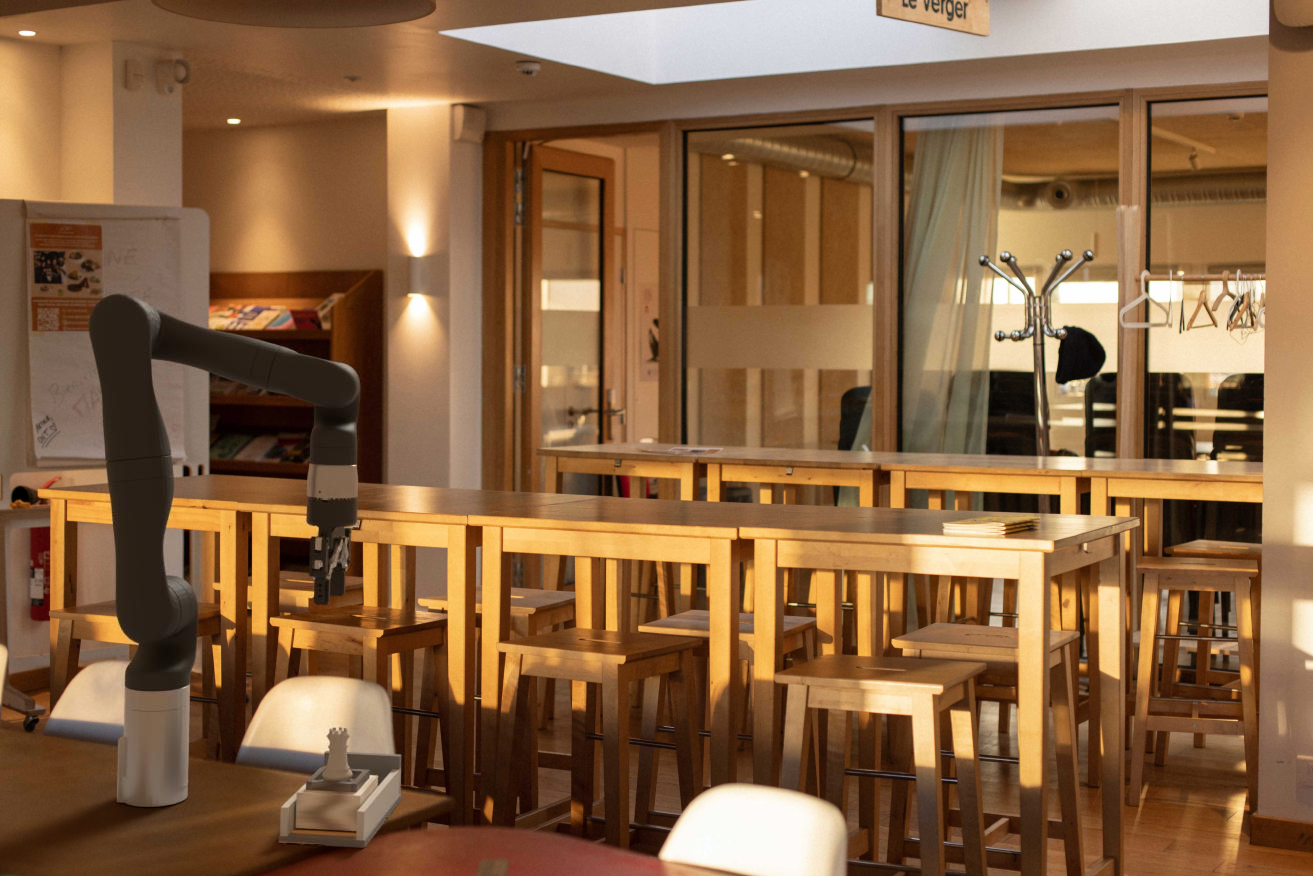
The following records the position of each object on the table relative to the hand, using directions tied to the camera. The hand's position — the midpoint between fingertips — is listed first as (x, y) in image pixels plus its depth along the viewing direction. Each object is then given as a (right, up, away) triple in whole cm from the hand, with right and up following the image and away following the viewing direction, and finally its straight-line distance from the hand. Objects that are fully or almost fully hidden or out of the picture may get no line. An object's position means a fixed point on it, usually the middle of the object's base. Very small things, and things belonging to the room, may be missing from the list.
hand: (329, 599), depth 218 cm
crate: (+4, -30, -14) cm, 33 cm away
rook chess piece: (+4, -25, -14) cm, 29 cm away
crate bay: (+4, -31, -10) cm, 33 cm away
